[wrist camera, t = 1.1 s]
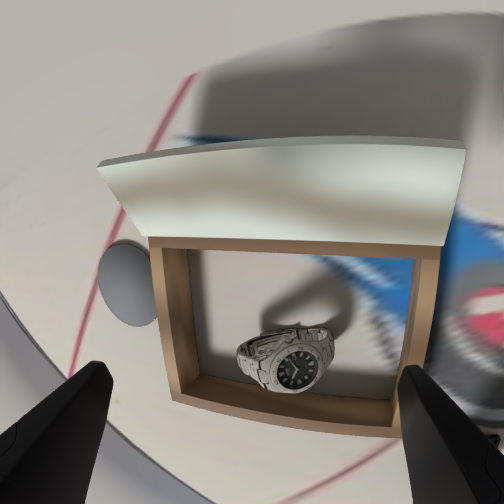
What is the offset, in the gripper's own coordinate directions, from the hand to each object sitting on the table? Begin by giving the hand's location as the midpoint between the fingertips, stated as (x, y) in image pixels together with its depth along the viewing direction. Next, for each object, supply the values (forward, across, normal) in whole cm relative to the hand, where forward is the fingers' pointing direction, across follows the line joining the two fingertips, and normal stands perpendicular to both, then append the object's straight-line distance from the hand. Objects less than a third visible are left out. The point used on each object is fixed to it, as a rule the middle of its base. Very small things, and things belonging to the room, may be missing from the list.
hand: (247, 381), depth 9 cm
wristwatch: (+10, -2, +8) cm, 13 cm away
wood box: (+11, -1, +5) cm, 12 cm away
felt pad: (+14, +12, +7) cm, 20 cm away
